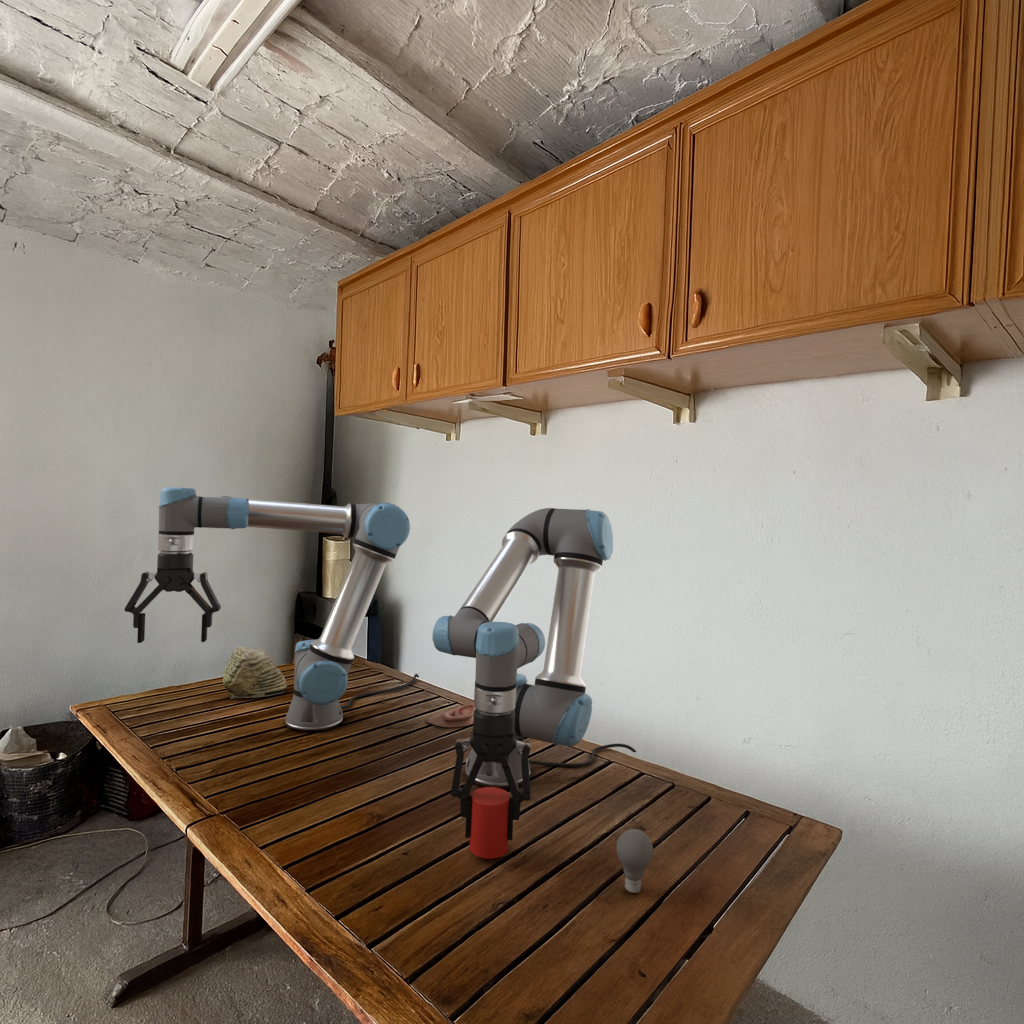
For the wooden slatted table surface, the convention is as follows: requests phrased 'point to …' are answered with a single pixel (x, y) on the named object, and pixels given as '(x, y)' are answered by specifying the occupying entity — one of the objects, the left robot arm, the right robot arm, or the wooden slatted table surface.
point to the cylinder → (489, 822)
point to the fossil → (252, 674)
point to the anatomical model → (454, 717)
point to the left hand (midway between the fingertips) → (172, 641)
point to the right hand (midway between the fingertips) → (489, 834)
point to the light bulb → (634, 857)
